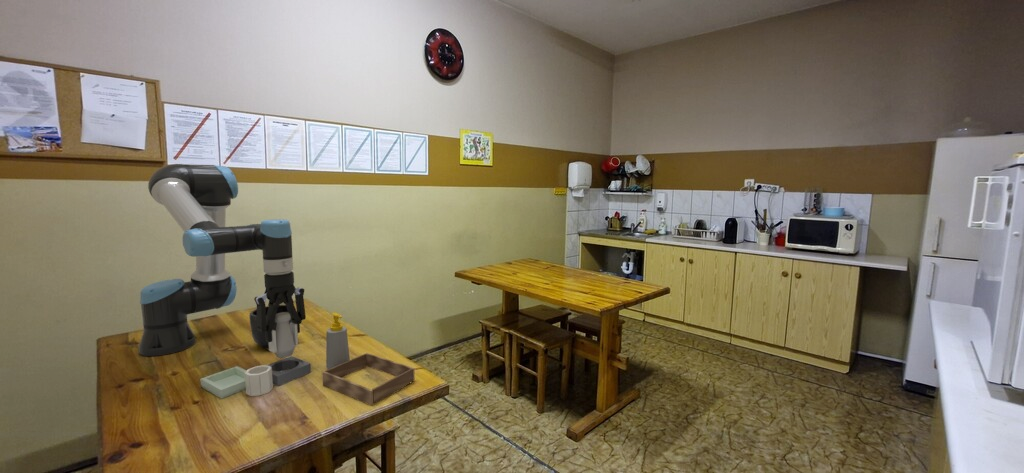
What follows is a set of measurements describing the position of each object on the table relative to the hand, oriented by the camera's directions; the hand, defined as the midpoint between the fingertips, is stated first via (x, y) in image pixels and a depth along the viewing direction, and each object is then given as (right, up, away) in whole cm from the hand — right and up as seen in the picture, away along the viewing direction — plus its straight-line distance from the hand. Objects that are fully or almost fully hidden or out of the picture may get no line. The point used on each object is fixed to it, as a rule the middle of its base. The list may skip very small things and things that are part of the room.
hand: (284, 347), depth 120 cm
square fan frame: (0, -9, +1) cm, 9 cm away
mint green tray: (-12, -9, -6) cm, 16 cm away
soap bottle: (+14, -8, +5) cm, 17 cm away
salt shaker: (0, -2, 0) cm, 3 cm away
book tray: (+27, -9, -3) cm, 29 cm away
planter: (-17, -6, +24) cm, 30 cm away
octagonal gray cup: (-2, -10, -8) cm, 13 cm away
